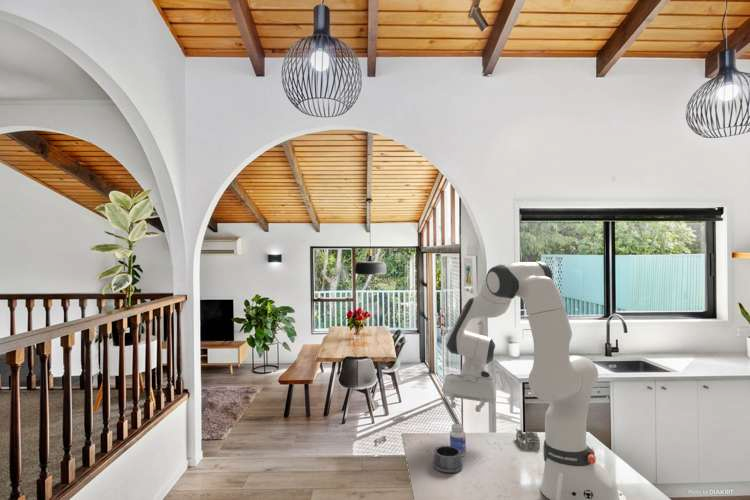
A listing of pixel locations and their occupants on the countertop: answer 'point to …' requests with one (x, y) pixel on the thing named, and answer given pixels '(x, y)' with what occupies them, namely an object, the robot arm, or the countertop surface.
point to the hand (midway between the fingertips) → (465, 409)
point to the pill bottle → (458, 438)
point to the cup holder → (447, 460)
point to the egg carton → (528, 440)
